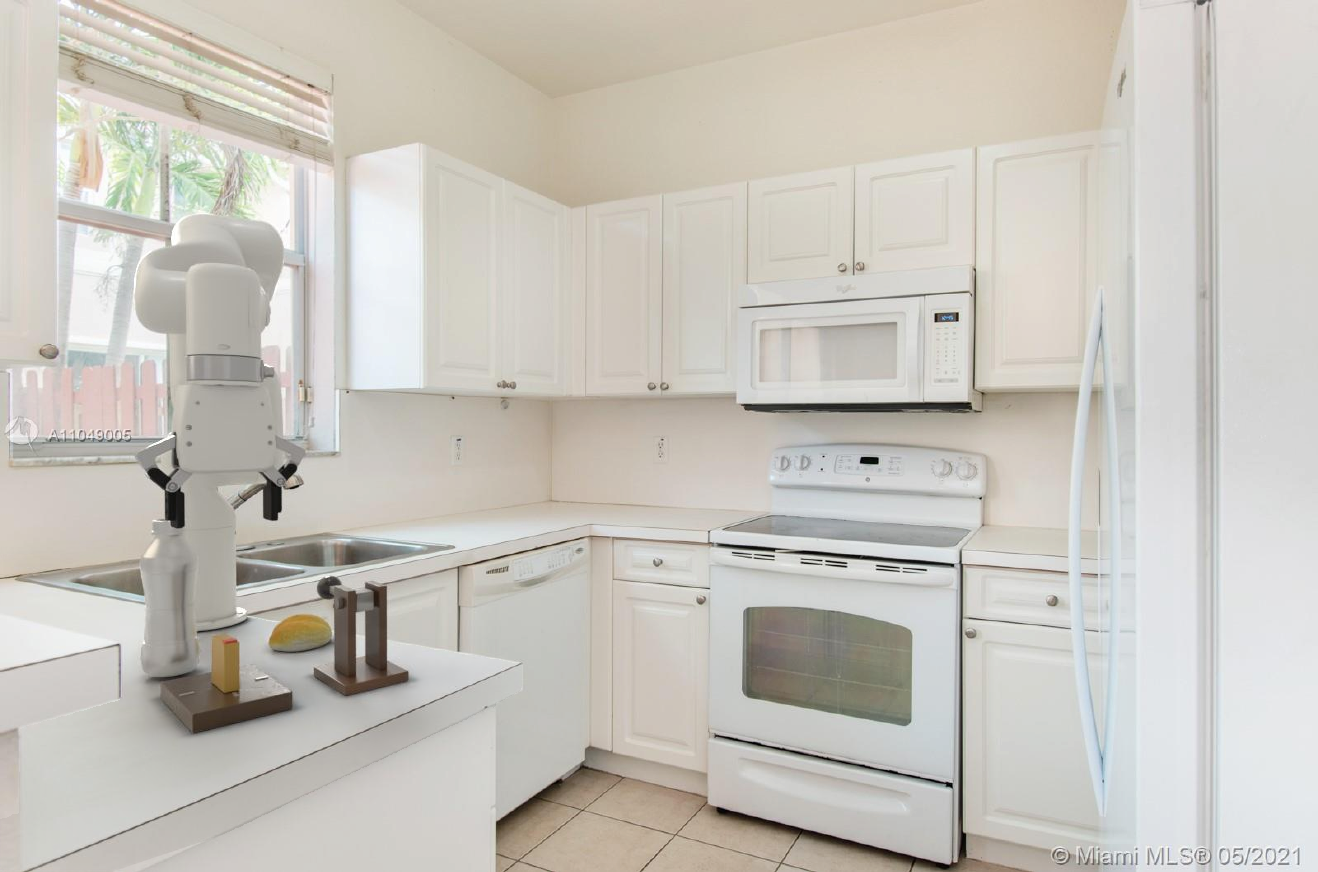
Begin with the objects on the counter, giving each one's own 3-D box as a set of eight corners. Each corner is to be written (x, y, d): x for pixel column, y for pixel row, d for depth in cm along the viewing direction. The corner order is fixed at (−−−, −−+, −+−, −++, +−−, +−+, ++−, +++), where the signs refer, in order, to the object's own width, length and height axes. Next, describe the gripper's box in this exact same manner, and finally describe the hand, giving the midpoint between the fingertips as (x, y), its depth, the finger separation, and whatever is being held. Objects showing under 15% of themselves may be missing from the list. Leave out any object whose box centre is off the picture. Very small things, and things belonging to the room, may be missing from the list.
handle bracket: (313, 675, 99) (313, 584, 99) (374, 662, 105) (374, 575, 104) (345, 695, 92) (345, 597, 92) (408, 680, 97) (408, 587, 97)
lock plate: (160, 698, 91) (160, 680, 91) (252, 679, 98) (252, 662, 98) (192, 733, 81) (192, 712, 81) (292, 708, 88) (292, 689, 88)
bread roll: (266, 655, 107) (266, 627, 107) (274, 638, 116) (273, 612, 116) (330, 649, 110) (330, 621, 110) (333, 633, 119) (333, 607, 119)
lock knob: (211, 682, 90) (211, 633, 90) (226, 679, 91) (226, 631, 91) (224, 693, 87) (223, 642, 87) (239, 689, 88) (239, 639, 88)
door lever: (313, 599, 105) (313, 575, 105) (336, 595, 107) (336, 572, 107) (352, 616, 96) (352, 590, 96) (377, 612, 98) (377, 587, 98)
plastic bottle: (173, 685, 95) (171, 523, 95) (127, 681, 97) (125, 522, 96) (213, 668, 102) (212, 517, 101) (169, 665, 103) (168, 515, 103)
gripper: (291, 379, 97) (292, 514, 97) (127, 372, 85) (128, 527, 85) (314, 376, 92) (315, 519, 92) (142, 368, 80) (144, 533, 80)
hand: (225, 523), depth 89 cm, fingers open, 9 cm apart
